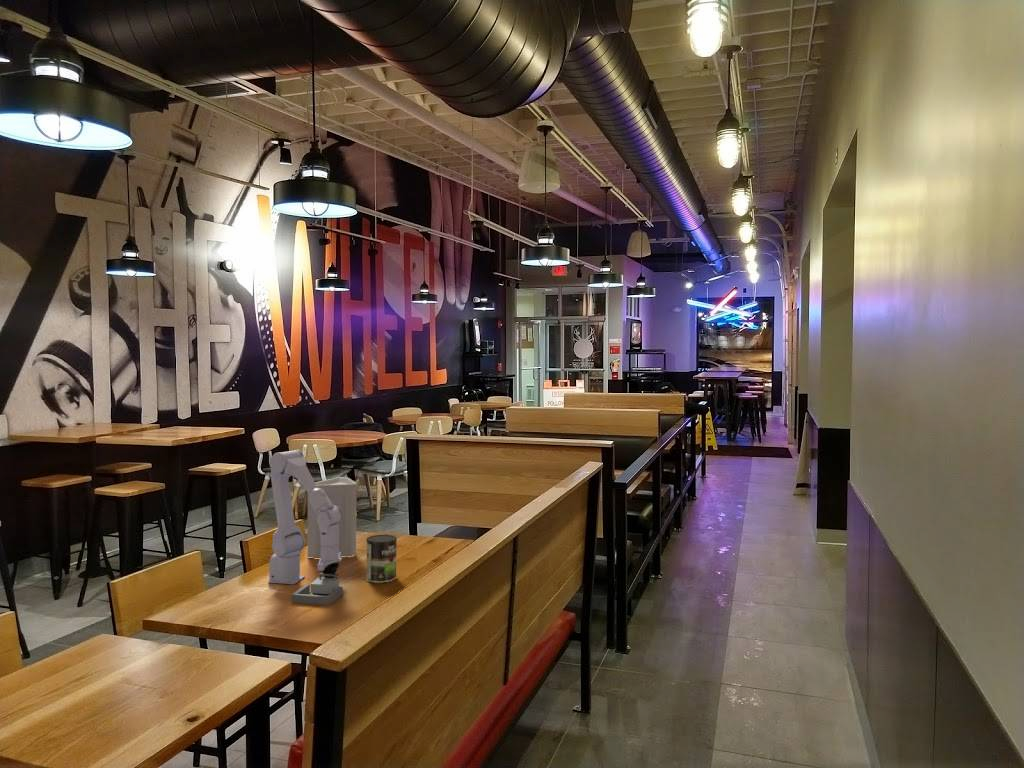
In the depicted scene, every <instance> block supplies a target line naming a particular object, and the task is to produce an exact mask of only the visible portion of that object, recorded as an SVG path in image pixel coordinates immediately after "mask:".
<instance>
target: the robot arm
mask: <svg viewBox="0 0 1024 768" xmlns="http://www.w3.org/2000/svg"><path fill="white" fill-rule="evenodd" d="M269 467H270V481H271V487H272V494H273V495H272V496H273V501H274V502H273V503H274V508H275V515H276V521H277V529H276V530H275V531H274V533H273V534H272V544H271V547H272V551H273V554H272V555H271V557H270V559H269V564H268V565H269V567H268V568H269V569H268V571H269V579H268V584H269V583H270V584H283V585H295V584H296V583H298V582H300V581H301V580H303V579H304V578H305V577H306V576H305V575H301V573H300V571H301V564H300V562H301V557H300V556H301V553H302V550H303V549H304V548H305V545H306V539H305V536H304V535H303V532H302V528H301V527H299V526H298V525H297V524H296V523H295V516H294V510H293V509H294V508H293V503H292V496H291V487H290V481H289V478H291V476H295V477H296V478H297V480H298V482H299V483H300V484H301V485H302V486H303V488H304V490H305V491H306V492H307V502H308V501H309V502H310V504H311V505H312V507H313V509H314V510H315V512H316V513H317V515H318V517H317V518H316V520H317V523H318V525H319V530H320V532H321V558H320V559H319V561H318V563H317V568H316V569H317V571H321V572H322V573H325V574H337V571H338V568H339V567H340V562H341V561H342V560H343V558H341V552H339V523H340V522H341V520H342V512H341V510H340V508H339V507H337V506H335V505H334V504H332V503H331V501H330V500H329V498H328V497H327V495H326V492H325V491H324V490H323V489H320V488H317V486H316V484H315V479H313V476H312V474H311V473H310V471H309V469H308V467H307V458H306V457H305V455H304V454H303V452H302V451H301V450H300V449H294V450H289V451H283V452H282V451H281V452H280V451H279V452H275V453H273V454H272V456H271V457H270V459H269ZM323 577H324V578H335V577H333V576H323Z"/></svg>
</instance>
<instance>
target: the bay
mask: <svg viewBox="0 0 1024 768" xmlns="http://www.w3.org/2000/svg"><path fill="white" fill-rule="evenodd" d="M343 589H344V586H340V585H339V587H338V588H337V589H335V590H334V591H333V592H332V593H330V594H327V595H324V594H321V595H319V594H315V595H313V594H309V593H311V583H310V584H307V583H306V584H304V585H302V587H300V588H299V589H297V590H296V591H295V592H293V593H292V594H291V604H302V605H303V604H304V605H305V604H306V605H317V606H319V605H320V606H331V605H332V604H333V603H334V602H336V601H337V600H338V599H339V598H340V597H342V596H343V594H344V593H343V592H344V590H343ZM336 599H337V600H336Z"/></svg>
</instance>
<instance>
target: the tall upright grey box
mask: <svg viewBox="0 0 1024 768" xmlns="http://www.w3.org/2000/svg"><path fill="white" fill-rule="evenodd" d="M314 482H315V481H314ZM315 484H316V486H317V488H320V489H323V490H324V491H325V492H326V495H327V497H328V498H329V500H330V501H331V503H332V504H334V505H335V506H337V507H339V508H340V510H341V512H342V520H341V522H340V523H339V552H341V556H352V555H354V554H356V555H357V482H356V481H355V480H352V479H351V478H350V477H345V476H337V477H333V478H329V479H323V480H320V481H317V482H315ZM317 517H318V515H317V513H316V512H315V510H314V509H313V507H312V505H311V504H310V502H309V501H308V500H307V558H308V557H313V558H321V532H320V530H319V525H318V523H317V520H316V518H317Z"/></svg>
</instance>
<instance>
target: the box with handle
mask: <svg viewBox="0 0 1024 768" xmlns="http://www.w3.org/2000/svg"><path fill="white" fill-rule="evenodd" d="M324 576H333V577H335V578H325V577H324ZM338 576H339V575H338V574H337V573H336V574H325V573H323V572H322V573H321V572H320V573H318V577H316V579H314V581H312V582H311V583H310V593H311V595H316V594H317V595H319V594H321V595H329V594H330V593H332V592H333V591H334V590H335V589H337V588H338V587H339V586H340V578H338Z"/></svg>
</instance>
